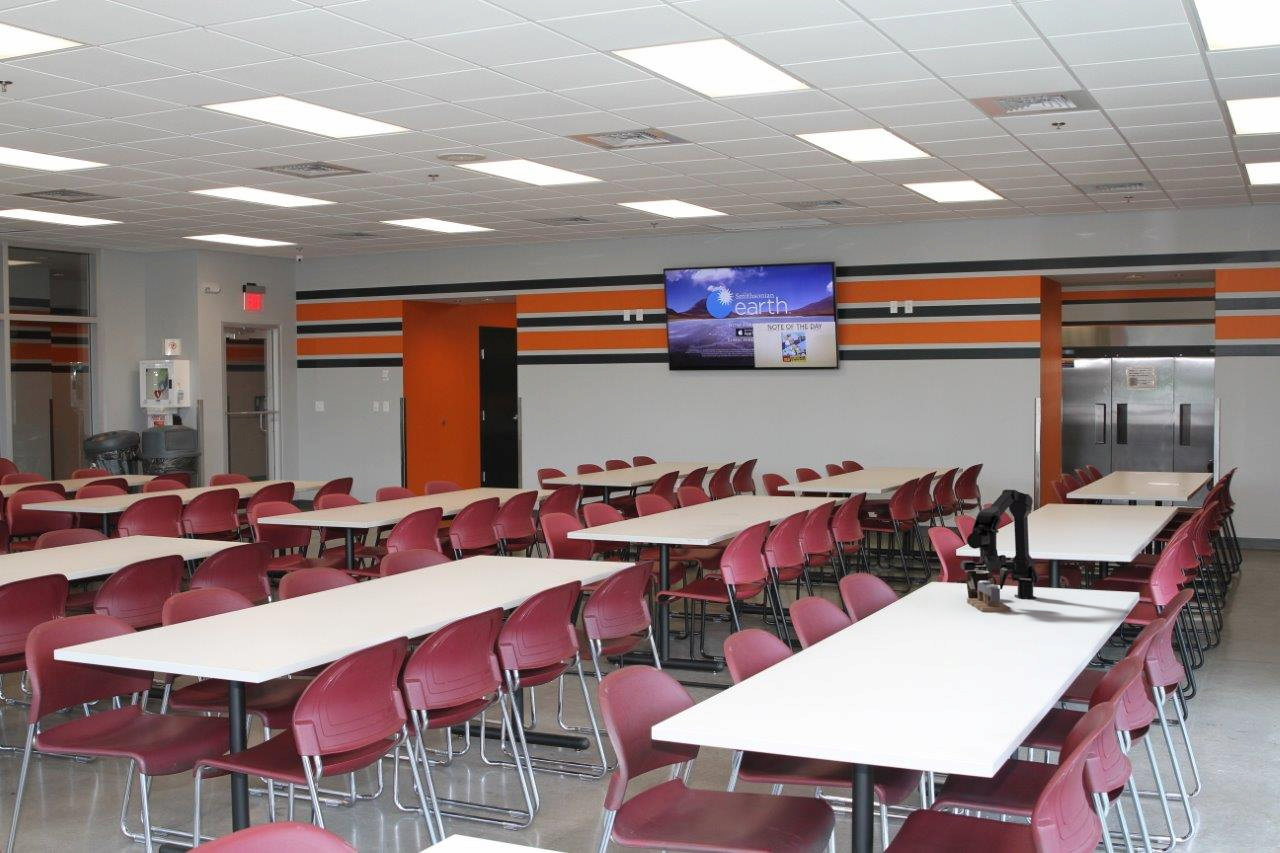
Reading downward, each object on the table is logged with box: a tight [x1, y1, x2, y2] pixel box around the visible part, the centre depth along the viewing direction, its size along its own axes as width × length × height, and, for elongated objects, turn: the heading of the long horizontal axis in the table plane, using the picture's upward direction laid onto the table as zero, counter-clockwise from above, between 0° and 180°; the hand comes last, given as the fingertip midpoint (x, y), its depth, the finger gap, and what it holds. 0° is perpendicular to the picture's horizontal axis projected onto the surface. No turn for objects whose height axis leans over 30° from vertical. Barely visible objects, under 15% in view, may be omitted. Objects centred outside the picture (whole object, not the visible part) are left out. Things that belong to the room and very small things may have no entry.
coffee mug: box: [964, 569, 997, 599], centre depth 459 cm, size 12×9×10 cm
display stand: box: [966, 591, 1011, 613], centre depth 440 cm, size 20×10×5 cm, turn 0°
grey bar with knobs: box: [978, 580, 1001, 602], centre depth 440 cm, size 18×4×5 cm, turn 0°
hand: (988, 589), depth 440 cm, fingers open, 9 cm apart
